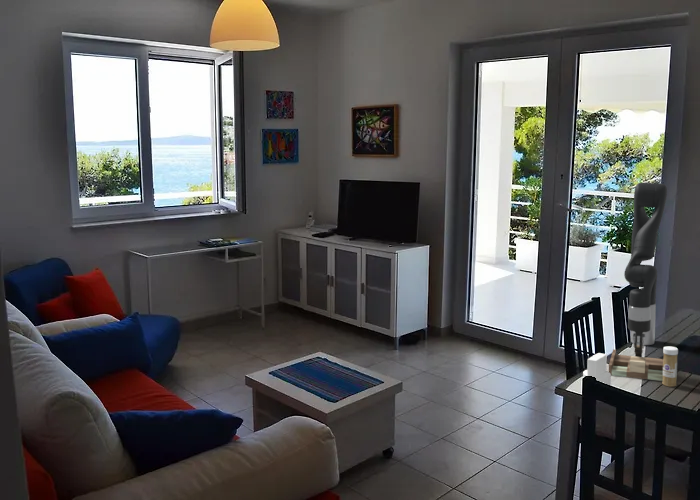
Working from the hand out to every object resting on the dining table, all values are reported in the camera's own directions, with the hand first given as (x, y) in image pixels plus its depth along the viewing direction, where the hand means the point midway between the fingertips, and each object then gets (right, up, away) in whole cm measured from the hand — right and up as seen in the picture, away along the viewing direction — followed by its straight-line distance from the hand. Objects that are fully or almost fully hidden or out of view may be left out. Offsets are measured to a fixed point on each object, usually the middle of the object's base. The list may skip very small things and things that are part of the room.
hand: (638, 362), depth 232 cm
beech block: (-2, -2, -4) cm, 5 cm away
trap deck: (0, -3, +1) cm, 3 cm away
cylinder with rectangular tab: (-22, -7, -16) cm, 28 cm away
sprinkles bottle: (+4, -5, -15) cm, 16 cm away
